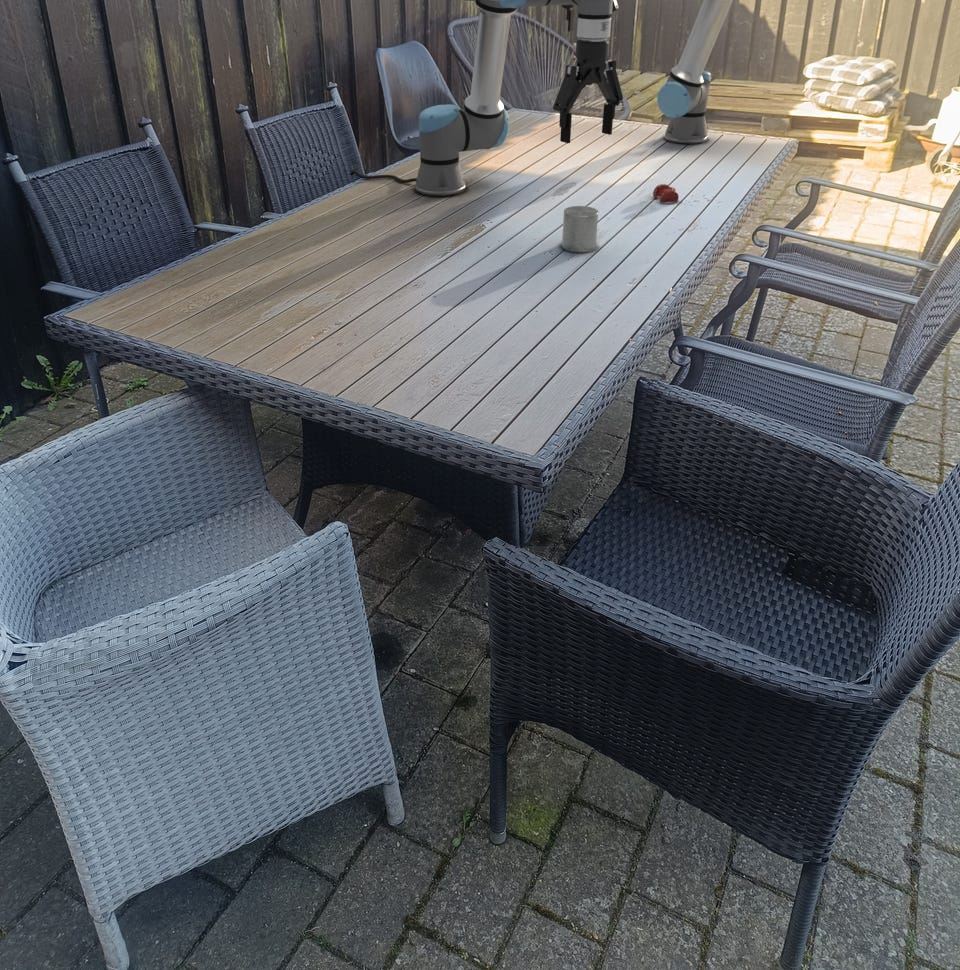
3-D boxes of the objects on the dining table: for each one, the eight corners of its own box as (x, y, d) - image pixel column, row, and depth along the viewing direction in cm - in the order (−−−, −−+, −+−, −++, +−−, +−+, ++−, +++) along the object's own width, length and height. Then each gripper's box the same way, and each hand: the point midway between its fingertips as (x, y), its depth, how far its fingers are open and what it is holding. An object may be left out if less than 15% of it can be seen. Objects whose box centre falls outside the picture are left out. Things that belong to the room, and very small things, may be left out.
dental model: (669, 180, 251) (681, 188, 245) (668, 194, 254) (679, 202, 248) (652, 182, 250) (663, 190, 244) (650, 196, 253) (662, 204, 247)
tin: (560, 251, 215) (562, 215, 210) (563, 239, 222) (565, 205, 217) (594, 253, 214) (597, 217, 209) (596, 241, 221) (599, 206, 216)
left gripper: (562, 46, 182) (557, 149, 194) (643, 35, 194) (634, 133, 206) (540, 42, 187) (536, 142, 199) (620, 32, 199) (612, 127, 211)
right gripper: (554, -40, 285) (551, 31, 298) (623, -37, 275) (617, 36, 288) (563, -41, 291) (560, 28, 303) (631, -38, 281) (625, 33, 293)
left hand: (586, 137), depth 203 cm, fingers open, 13 cm apart
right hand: (588, 32), depth 295 cm, fingers open, 13 cm apart
